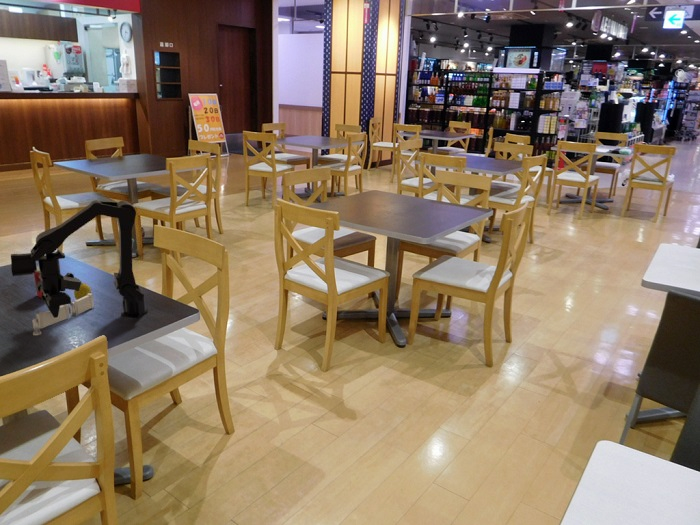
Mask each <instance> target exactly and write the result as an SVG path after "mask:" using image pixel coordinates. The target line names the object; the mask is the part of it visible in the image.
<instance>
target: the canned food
mask: <svg viewBox="0 0 700 525" xmlns="http://www.w3.org/2000/svg"><path fill="white" fill-rule="evenodd" d="M36 266H37V271H35V273H33V275H34V277H33V278H34V282H35V283H34V284H35V285H36V284H37V283H38V282H40V281H41V279H40V278H39V275H40V270H39V264H38V265H36ZM36 294H37V297H38V298H40V299H42V298H41V296H43V295H44V294H43V292H42V291H41V289H40V292H37V291H36Z"/></svg>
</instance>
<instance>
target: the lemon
mask: <svg viewBox="0 0 700 525" xmlns="http://www.w3.org/2000/svg"><path fill="white" fill-rule="evenodd" d="M73 292H74V293H73V294H74V298H75V301H76V300H78V299H80V298H82V297H84V296H87V294H88V293H90V294H92V289H91V287H90V286H89V285H88V284H87V283H84V282H81V286H80V289H79V291H75V290H73Z"/></svg>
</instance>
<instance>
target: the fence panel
mask: <svg viewBox="0 0 700 525" xmlns="http://www.w3.org/2000/svg"><path fill="white" fill-rule="evenodd" d="M93 295H94V294H93V293H91V294H90V293H88V294H87V296H84V297H82V298H80V299H78V300H76V299H75V300H74V301H73V302H75V308H76V315H77V314H78V315H79V314H81V313H84V312H86V311H88V310H90V309H94V308H95V306H94V305H95V304H94V296H93Z"/></svg>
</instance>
